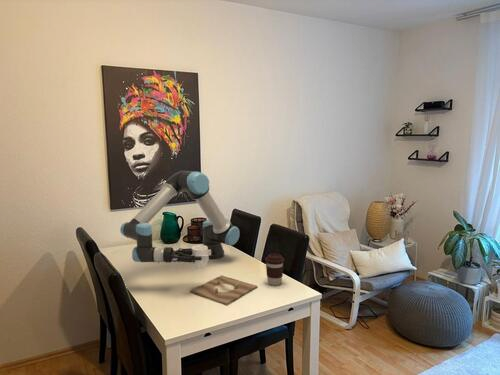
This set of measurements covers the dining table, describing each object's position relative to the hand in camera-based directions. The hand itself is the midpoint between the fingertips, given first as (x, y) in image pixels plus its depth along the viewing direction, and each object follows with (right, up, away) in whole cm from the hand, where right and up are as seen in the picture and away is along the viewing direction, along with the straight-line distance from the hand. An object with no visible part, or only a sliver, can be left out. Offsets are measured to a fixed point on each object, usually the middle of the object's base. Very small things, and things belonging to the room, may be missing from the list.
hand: (209, 255), depth 185 cm
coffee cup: (+33, -17, +10) cm, 38 cm away
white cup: (-5, -6, +1) cm, 8 cm away
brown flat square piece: (+7, -18, +2) cm, 19 cm away
